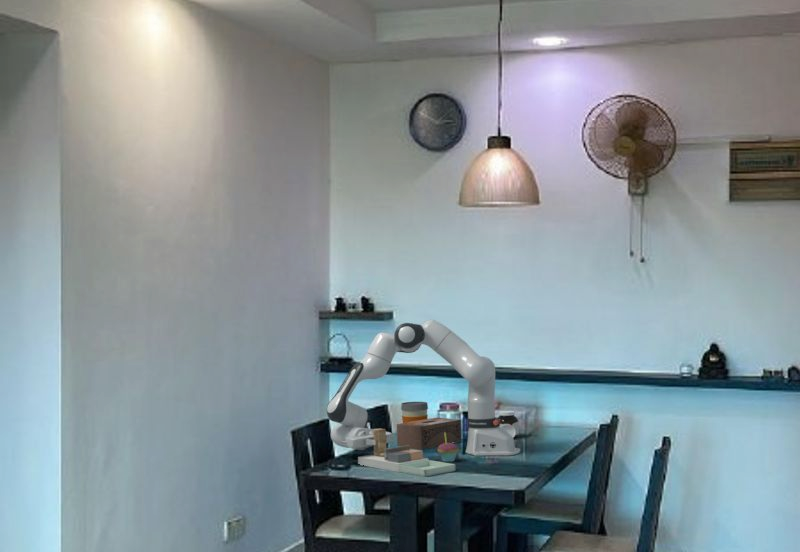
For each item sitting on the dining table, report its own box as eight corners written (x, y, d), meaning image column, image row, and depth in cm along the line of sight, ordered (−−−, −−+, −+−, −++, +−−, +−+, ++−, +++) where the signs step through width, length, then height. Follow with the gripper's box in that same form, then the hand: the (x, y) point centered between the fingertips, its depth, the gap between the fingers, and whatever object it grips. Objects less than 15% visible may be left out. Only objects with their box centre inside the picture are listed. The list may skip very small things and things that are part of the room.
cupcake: (452, 463, 408) (451, 432, 408) (433, 461, 413) (432, 431, 413) (462, 459, 415) (461, 429, 416) (444, 458, 420) (443, 428, 420)
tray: (399, 472, 393) (398, 465, 393) (429, 466, 402) (428, 460, 402) (425, 476, 381) (425, 469, 381) (455, 471, 391) (455, 464, 391)
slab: (358, 464, 412) (358, 457, 412) (387, 459, 421) (387, 452, 422) (399, 472, 393) (398, 463, 393) (429, 466, 402) (428, 458, 402)
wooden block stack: (365, 456, 411) (364, 430, 411) (389, 452, 418) (388, 427, 419) (386, 459, 401) (385, 433, 401) (410, 455, 409) (409, 430, 409)
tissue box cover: (421, 450, 445) (420, 426, 445) (397, 447, 455) (396, 424, 455) (461, 442, 463) (460, 419, 463) (437, 439, 473) (436, 417, 473)
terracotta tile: (400, 458, 404) (400, 451, 404) (412, 456, 408) (412, 449, 408) (411, 460, 399) (410, 452, 399) (422, 458, 403) (422, 450, 403)
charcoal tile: (387, 461, 400) (387, 453, 400) (399, 459, 404) (399, 451, 404) (397, 462, 395) (397, 454, 395) (410, 460, 399) (409, 452, 399)
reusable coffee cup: (410, 433, 495) (409, 401, 495) (433, 434, 489) (432, 401, 489) (396, 436, 484) (395, 404, 484) (420, 437, 478) (419, 405, 478)
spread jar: (511, 435, 476) (510, 410, 476) (526, 438, 467) (525, 412, 467) (489, 438, 470) (489, 412, 470) (505, 441, 460) (504, 414, 460)
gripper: (338, 433, 417) (360, 437, 406) (379, 427, 430) (400, 430, 419) (339, 449, 417) (360, 453, 406) (379, 443, 430) (401, 446, 419)
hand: (381, 441), depth 413 cm, fingers closed on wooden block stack, 3 cm apart
